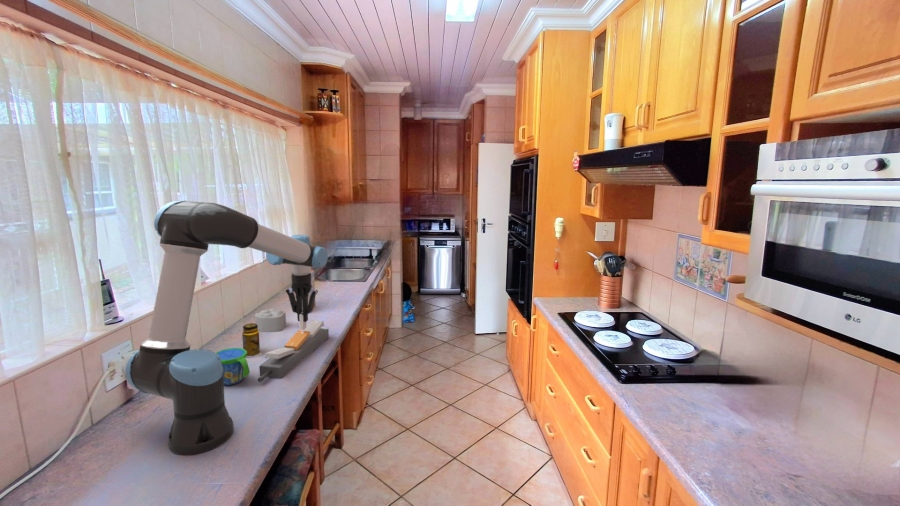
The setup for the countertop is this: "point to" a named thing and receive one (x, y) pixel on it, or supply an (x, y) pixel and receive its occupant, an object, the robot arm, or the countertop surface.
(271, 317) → the lumpy-topped squat cylinder
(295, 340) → the rocker
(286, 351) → the rocker
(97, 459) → the countertop surface
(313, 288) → the cracker box
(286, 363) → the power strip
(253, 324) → the condiment
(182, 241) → the robot arm
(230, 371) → the snack cup
